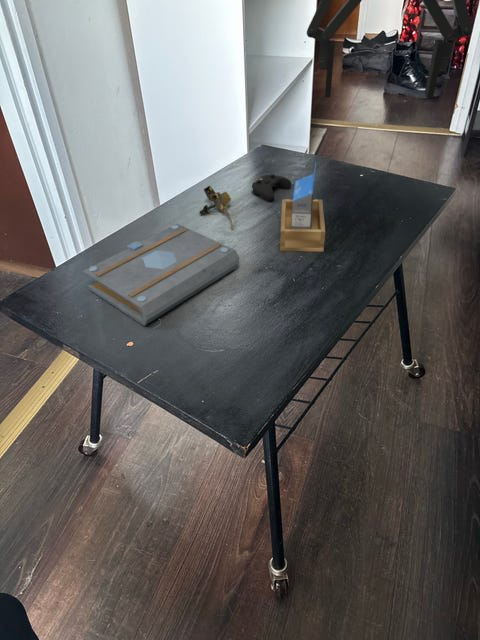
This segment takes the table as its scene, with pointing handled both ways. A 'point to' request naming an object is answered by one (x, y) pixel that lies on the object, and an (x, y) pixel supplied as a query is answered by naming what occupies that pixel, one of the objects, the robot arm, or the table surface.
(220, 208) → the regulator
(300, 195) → the blue cardboard box
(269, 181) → the game controller
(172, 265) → the book
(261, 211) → the table surface
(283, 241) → the tray
